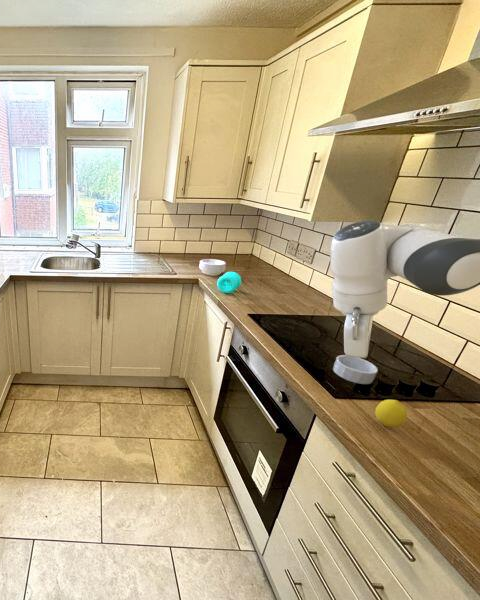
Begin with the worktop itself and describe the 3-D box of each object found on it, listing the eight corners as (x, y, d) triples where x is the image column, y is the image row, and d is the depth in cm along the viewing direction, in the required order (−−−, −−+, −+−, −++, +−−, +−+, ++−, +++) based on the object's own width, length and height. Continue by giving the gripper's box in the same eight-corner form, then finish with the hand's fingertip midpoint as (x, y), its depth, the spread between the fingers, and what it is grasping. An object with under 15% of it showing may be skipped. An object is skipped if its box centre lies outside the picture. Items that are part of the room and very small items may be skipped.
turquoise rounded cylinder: (240, 290, 170) (243, 273, 166) (234, 296, 163) (238, 277, 159) (221, 286, 176) (224, 269, 172) (214, 291, 169) (218, 273, 165)
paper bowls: (202, 268, 208) (203, 257, 205) (226, 272, 200) (228, 260, 197) (195, 274, 197) (197, 262, 194) (220, 279, 188) (223, 266, 185)
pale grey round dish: (350, 364, 106) (354, 353, 104) (381, 382, 97) (386, 371, 95) (325, 366, 104) (328, 356, 103) (354, 385, 95) (358, 374, 94)
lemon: (396, 423, 81) (409, 398, 78) (402, 437, 77) (415, 411, 74) (368, 415, 84) (379, 390, 81) (372, 428, 79) (384, 403, 76)
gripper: (375, 324, 60) (376, 381, 64) (381, 276, 72) (382, 327, 77) (333, 321, 64) (337, 375, 69) (345, 277, 76) (348, 325, 81)
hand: (360, 349), depth 73 cm, fingers closed
